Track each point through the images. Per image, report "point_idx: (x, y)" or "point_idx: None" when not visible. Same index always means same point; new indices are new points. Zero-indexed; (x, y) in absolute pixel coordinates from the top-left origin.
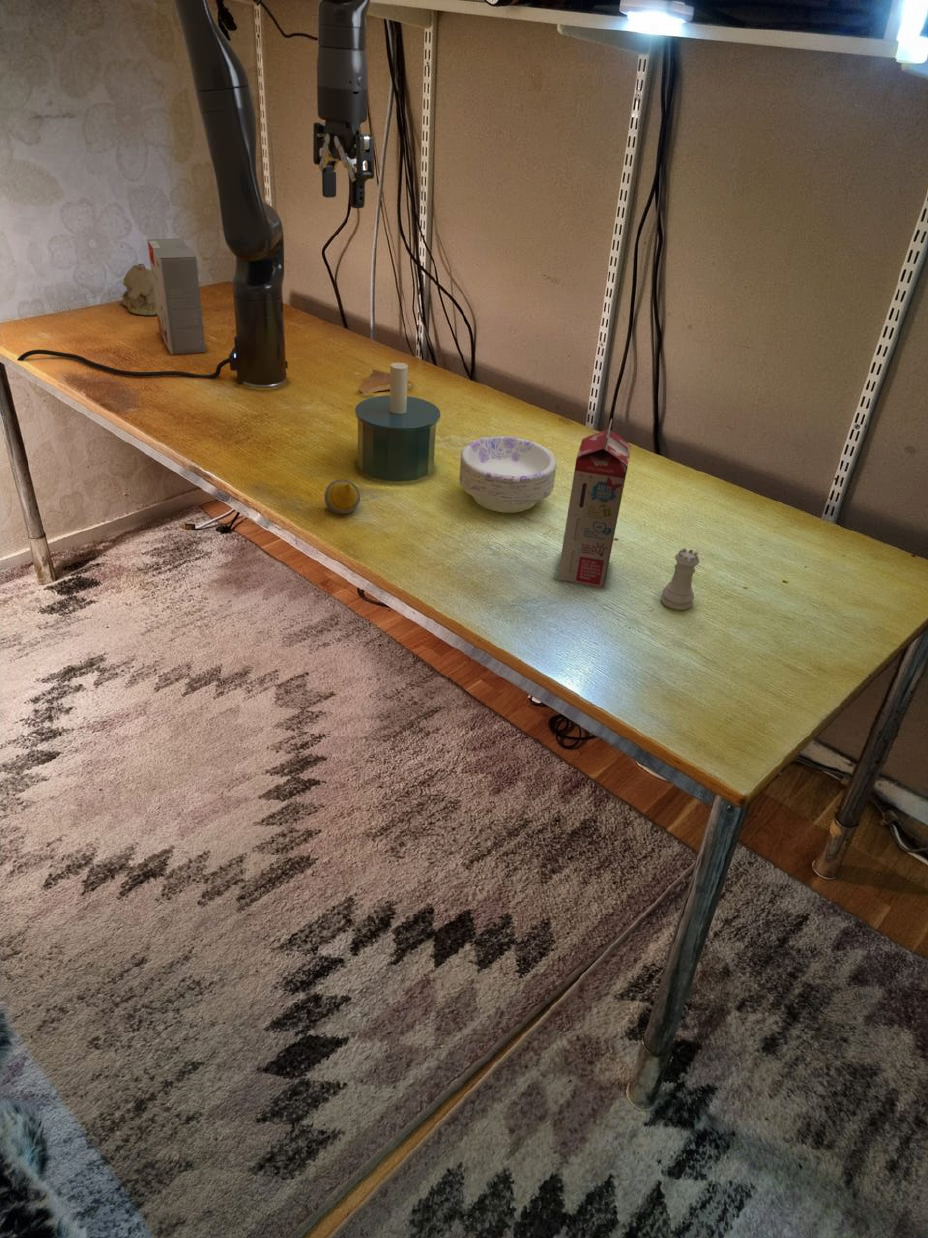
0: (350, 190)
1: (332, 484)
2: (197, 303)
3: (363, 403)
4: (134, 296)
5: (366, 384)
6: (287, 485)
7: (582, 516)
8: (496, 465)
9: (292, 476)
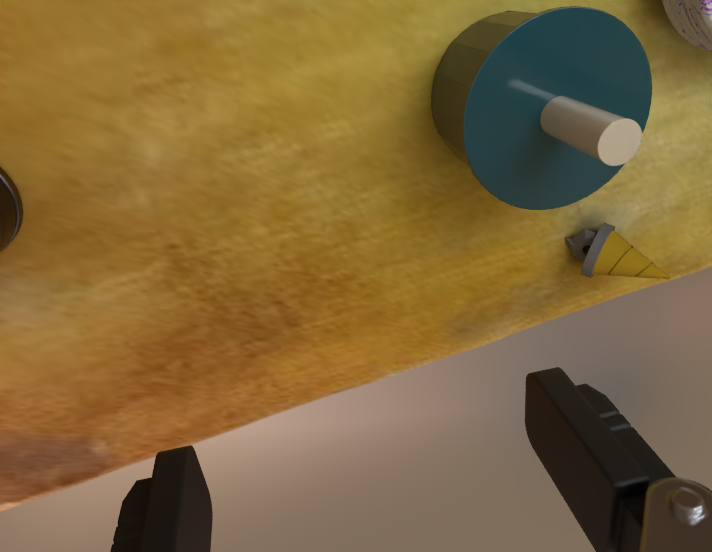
0: (577, 512)
1: (593, 269)
2: None
3: (487, 174)
4: None
5: None
6: (475, 290)
7: None
8: None
9: (450, 275)
